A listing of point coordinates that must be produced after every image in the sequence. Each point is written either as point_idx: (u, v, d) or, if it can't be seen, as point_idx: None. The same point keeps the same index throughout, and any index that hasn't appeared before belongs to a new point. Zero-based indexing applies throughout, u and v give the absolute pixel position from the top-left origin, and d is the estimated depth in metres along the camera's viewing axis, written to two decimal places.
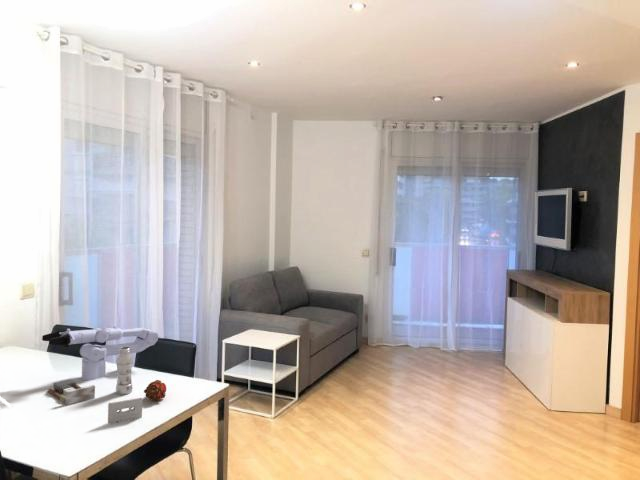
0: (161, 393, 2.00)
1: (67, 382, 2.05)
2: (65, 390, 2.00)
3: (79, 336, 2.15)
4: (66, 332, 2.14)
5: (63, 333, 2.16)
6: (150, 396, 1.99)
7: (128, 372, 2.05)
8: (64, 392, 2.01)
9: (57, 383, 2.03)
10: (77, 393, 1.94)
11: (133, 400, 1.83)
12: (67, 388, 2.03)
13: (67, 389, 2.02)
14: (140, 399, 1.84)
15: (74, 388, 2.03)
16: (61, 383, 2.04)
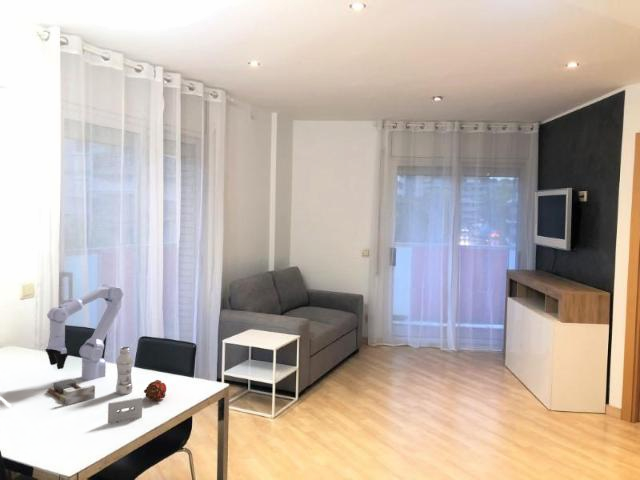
0: (161, 393, 2.00)
1: (67, 382, 2.05)
2: (65, 390, 2.00)
3: (57, 339, 2.07)
4: None
5: None
6: (150, 396, 1.99)
7: (128, 372, 2.05)
8: (64, 392, 2.01)
9: (57, 383, 2.03)
10: (77, 393, 1.94)
11: (133, 400, 1.83)
12: (67, 388, 2.03)
13: (67, 389, 2.02)
14: (140, 399, 1.84)
15: (74, 388, 2.03)
16: (61, 383, 2.04)
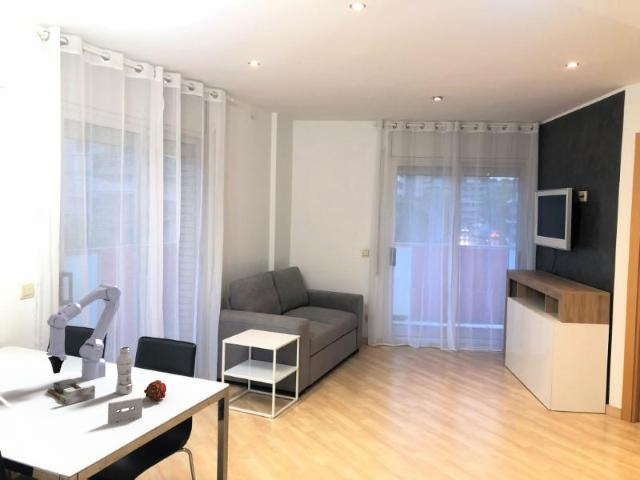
0: (161, 393, 2.00)
1: (67, 382, 2.05)
2: (65, 390, 2.00)
3: (57, 345, 2.07)
4: None
5: None
6: (150, 396, 1.99)
7: (128, 372, 2.05)
8: (64, 392, 2.01)
9: (57, 383, 2.03)
10: (77, 393, 1.94)
11: (133, 400, 1.83)
12: (67, 388, 2.03)
13: (67, 389, 2.02)
14: (140, 399, 1.84)
15: (74, 388, 2.03)
16: (61, 383, 2.04)
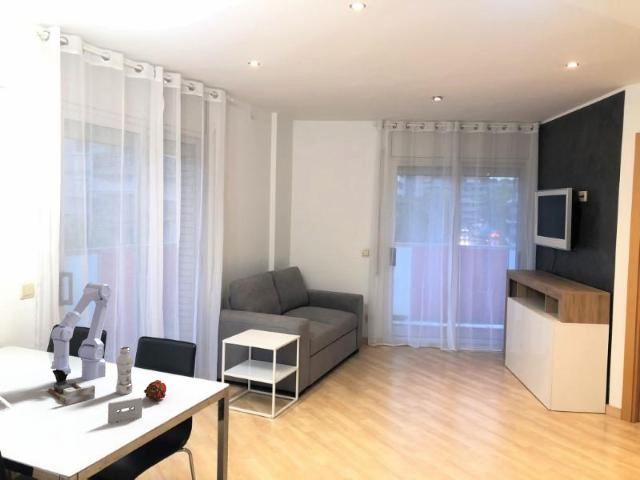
0: (161, 393, 2.00)
1: (67, 382, 2.05)
2: (65, 390, 2.00)
3: (61, 359, 2.04)
4: None
5: None
6: (150, 396, 1.99)
7: (128, 372, 2.05)
8: (64, 392, 2.01)
9: (57, 383, 2.03)
10: (77, 393, 1.94)
11: (133, 400, 1.83)
12: (67, 388, 2.03)
13: (67, 389, 2.02)
14: (140, 399, 1.84)
15: (74, 388, 2.03)
16: (61, 383, 2.04)
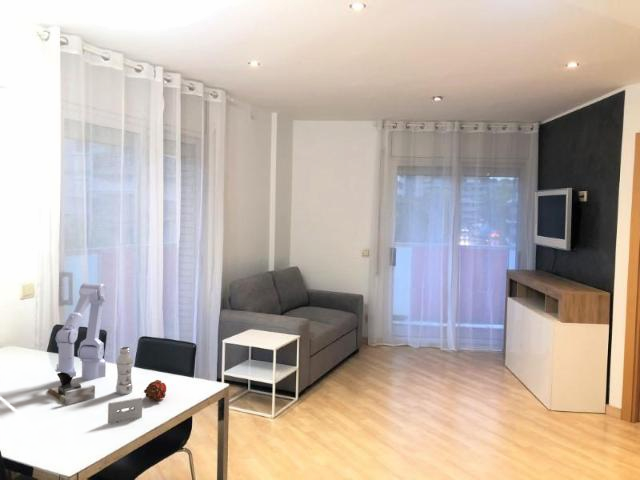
0: (161, 393, 2.00)
1: (72, 385, 2.02)
2: None
3: (66, 361, 2.01)
4: None
5: None
6: (150, 396, 1.99)
7: (128, 372, 2.05)
8: None
9: (62, 386, 2.00)
10: (77, 393, 1.94)
11: (133, 400, 1.83)
12: None
13: None
14: (140, 399, 1.84)
15: None
16: (66, 386, 2.01)
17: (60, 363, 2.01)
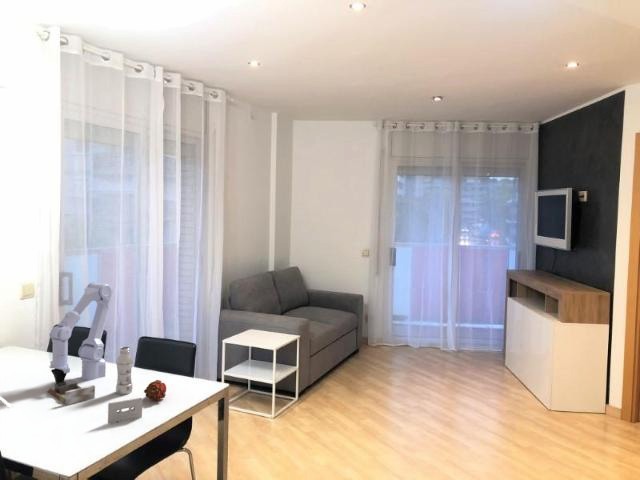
0: (161, 393, 2.00)
1: (68, 383, 2.04)
2: None
3: (60, 358, 2.05)
4: None
5: None
6: (150, 396, 1.99)
7: (128, 372, 2.05)
8: None
9: (58, 384, 2.03)
10: (77, 393, 1.94)
11: (133, 400, 1.83)
12: None
13: None
14: (140, 399, 1.84)
15: None
16: (62, 383, 2.04)
17: (54, 360, 2.05)
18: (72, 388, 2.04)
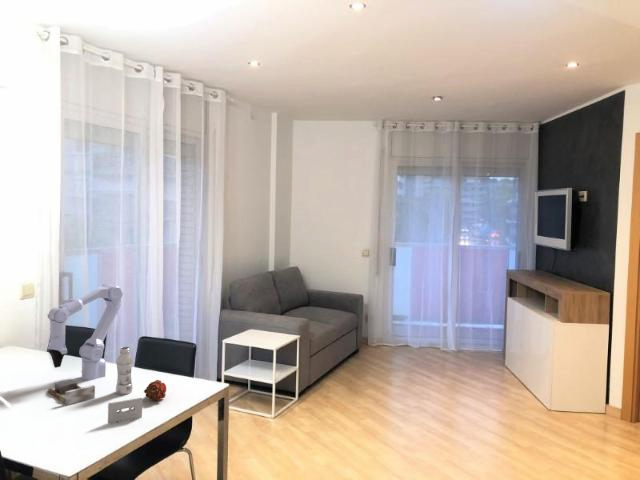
0: (161, 393, 2.00)
1: (68, 383, 2.04)
2: None
3: (57, 339, 2.07)
4: None
5: None
6: (150, 396, 1.99)
7: (128, 372, 2.05)
8: None
9: (58, 384, 2.03)
10: (77, 393, 1.94)
11: (133, 400, 1.83)
12: None
13: None
14: (140, 399, 1.84)
15: None
16: (62, 383, 2.04)
17: (52, 341, 2.07)
18: (72, 388, 2.04)
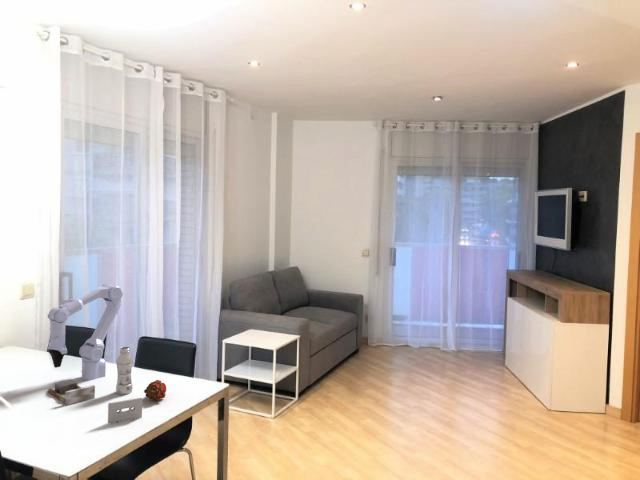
0: (161, 393, 2.00)
1: (68, 383, 2.04)
2: None
3: (57, 339, 2.07)
4: None
5: None
6: (150, 396, 1.99)
7: (128, 372, 2.05)
8: None
9: (58, 384, 2.03)
10: (77, 393, 1.94)
11: (133, 400, 1.83)
12: None
13: None
14: (140, 399, 1.84)
15: None
16: (62, 383, 2.04)
17: (52, 341, 2.07)
18: (72, 388, 2.04)
